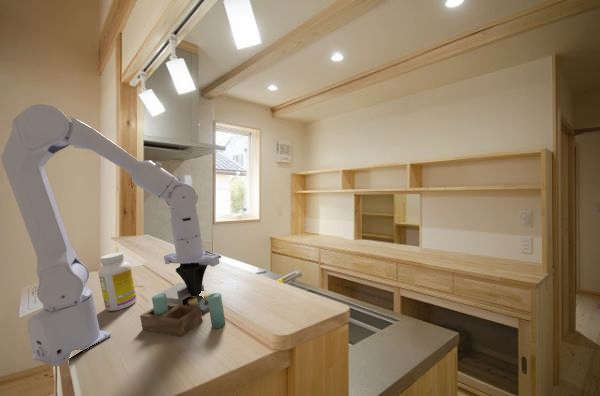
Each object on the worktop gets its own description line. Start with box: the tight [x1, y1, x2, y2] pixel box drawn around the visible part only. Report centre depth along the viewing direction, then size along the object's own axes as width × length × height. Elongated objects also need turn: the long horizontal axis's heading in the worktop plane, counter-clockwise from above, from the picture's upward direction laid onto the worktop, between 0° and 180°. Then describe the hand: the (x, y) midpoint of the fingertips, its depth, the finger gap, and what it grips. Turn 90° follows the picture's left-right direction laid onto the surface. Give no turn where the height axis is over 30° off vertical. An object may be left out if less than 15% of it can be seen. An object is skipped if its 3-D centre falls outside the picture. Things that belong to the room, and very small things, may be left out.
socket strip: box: [139, 303, 203, 338], centre depth 58 cm, size 6×11×3 cm, turn 66°
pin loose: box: [207, 292, 226, 329], centre depth 56 cm, size 3×3×6 cm
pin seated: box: [151, 293, 169, 316], centre depth 59 cm, size 3×3×6 cm
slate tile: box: [185, 293, 212, 315], centre depth 65 cm, size 6×6×2 cm
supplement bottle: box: [98, 251, 137, 312], centre depth 70 cm, size 7×7×13 cm
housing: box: [156, 282, 205, 305], centre depth 68 cm, size 7×8×5 cm
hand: (196, 294), depth 66 cm, fingers closed
